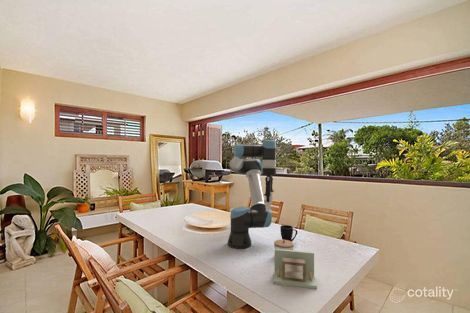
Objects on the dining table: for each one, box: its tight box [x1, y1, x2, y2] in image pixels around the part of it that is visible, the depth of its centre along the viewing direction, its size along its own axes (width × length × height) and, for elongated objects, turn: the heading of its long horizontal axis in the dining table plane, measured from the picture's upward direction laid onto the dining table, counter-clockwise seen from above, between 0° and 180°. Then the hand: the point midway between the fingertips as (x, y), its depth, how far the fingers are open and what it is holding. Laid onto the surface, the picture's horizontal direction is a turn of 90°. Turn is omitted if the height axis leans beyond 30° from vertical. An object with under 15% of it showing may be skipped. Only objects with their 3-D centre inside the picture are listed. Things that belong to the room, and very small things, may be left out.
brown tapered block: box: [282, 257, 306, 282], centre depth 102 cm, size 10×4×8 cm, turn 77°
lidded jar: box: [273, 239, 294, 251], centre depth 128 cm, size 11×11×9 cm
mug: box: [279, 224, 298, 242], centre depth 152 cm, size 8×12×10 cm
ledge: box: [273, 248, 318, 290], centre depth 103 cm, size 18×11×11 cm, turn 77°
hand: (269, 205), depth 127 cm, fingers open, 13 cm apart
